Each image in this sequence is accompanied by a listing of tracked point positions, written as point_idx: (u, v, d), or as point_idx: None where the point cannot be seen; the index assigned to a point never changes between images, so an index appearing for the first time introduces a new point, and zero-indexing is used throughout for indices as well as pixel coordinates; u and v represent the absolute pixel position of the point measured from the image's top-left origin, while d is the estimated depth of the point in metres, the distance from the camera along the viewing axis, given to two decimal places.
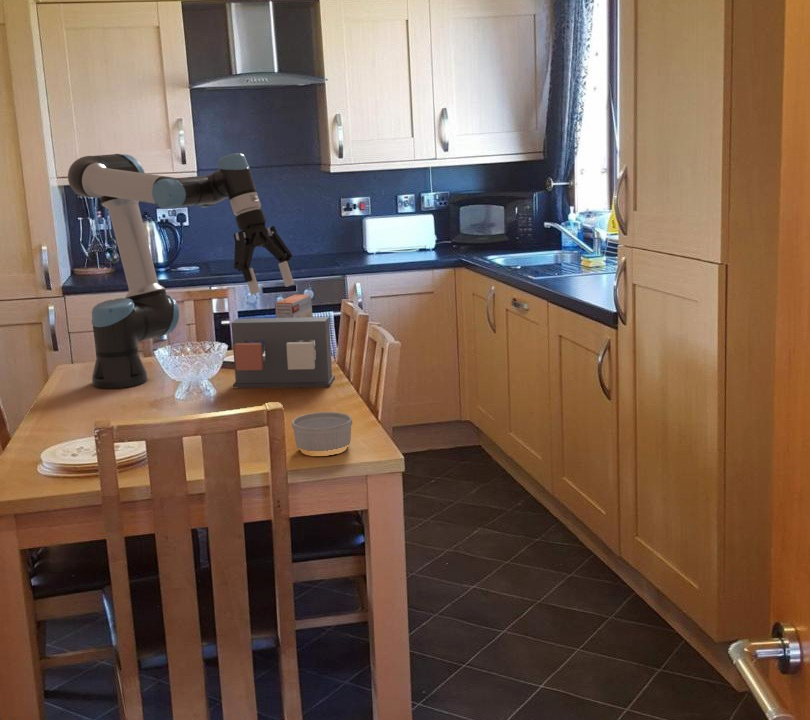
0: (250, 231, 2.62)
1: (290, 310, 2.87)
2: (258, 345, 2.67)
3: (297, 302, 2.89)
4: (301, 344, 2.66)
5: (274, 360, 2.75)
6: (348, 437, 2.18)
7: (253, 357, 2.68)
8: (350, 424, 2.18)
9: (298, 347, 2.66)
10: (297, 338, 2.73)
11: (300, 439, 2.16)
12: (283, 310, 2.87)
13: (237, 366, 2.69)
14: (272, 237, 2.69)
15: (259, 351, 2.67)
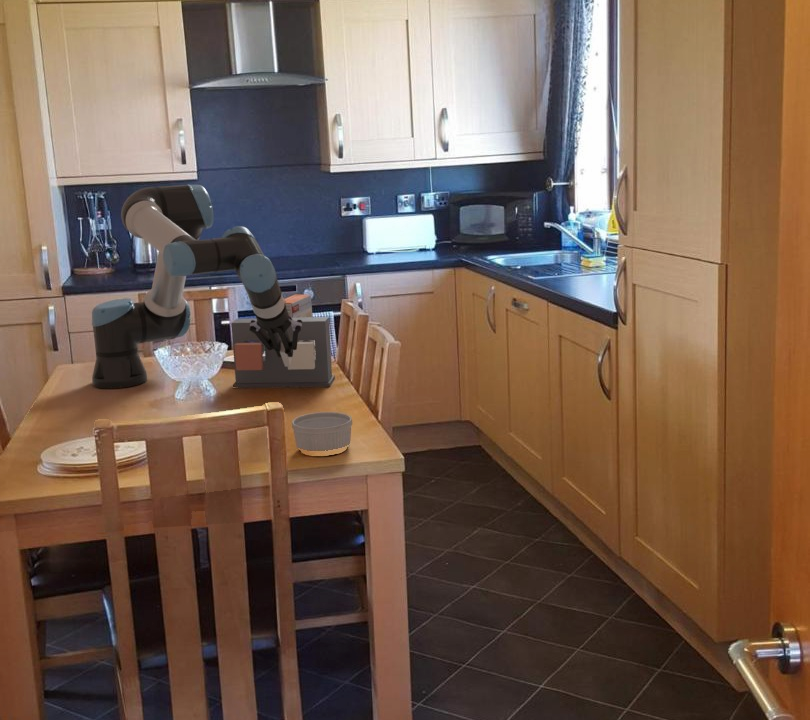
0: None
1: (290, 310, 2.87)
2: (258, 345, 2.67)
3: (297, 302, 2.89)
4: (301, 344, 2.66)
5: (274, 360, 2.75)
6: (348, 437, 2.18)
7: (253, 357, 2.68)
8: (350, 424, 2.18)
9: (298, 347, 2.66)
10: None
11: (300, 439, 2.16)
12: None
13: (237, 366, 2.69)
14: (260, 329, 2.43)
15: (259, 351, 2.67)
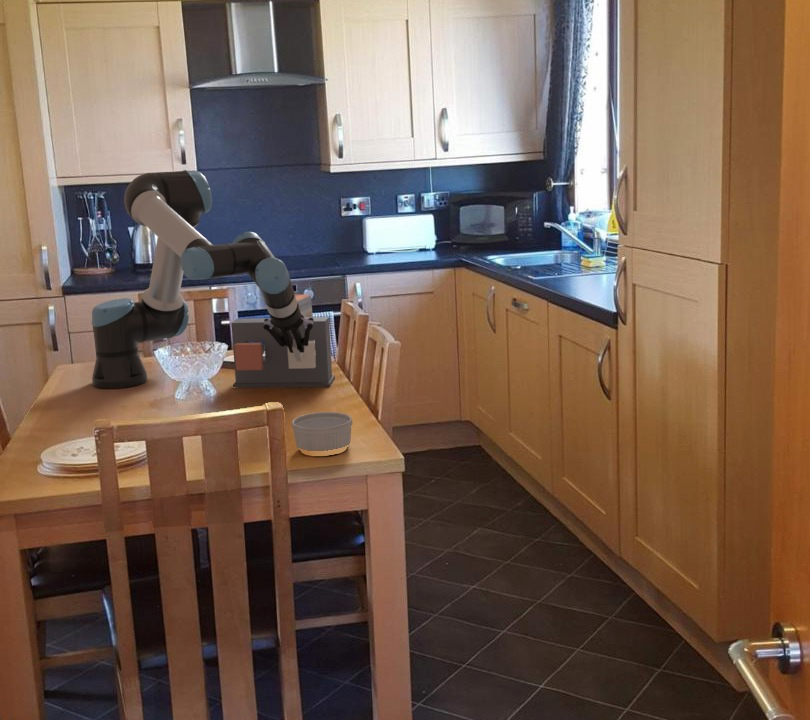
0: None
1: None
2: (258, 345, 2.67)
3: (297, 302, 2.89)
4: None
5: (274, 360, 2.75)
6: (348, 437, 2.18)
7: (253, 357, 2.68)
8: (350, 424, 2.18)
9: None
10: None
11: (300, 439, 2.16)
12: None
13: (237, 366, 2.69)
14: (273, 327, 2.55)
15: (259, 351, 2.67)
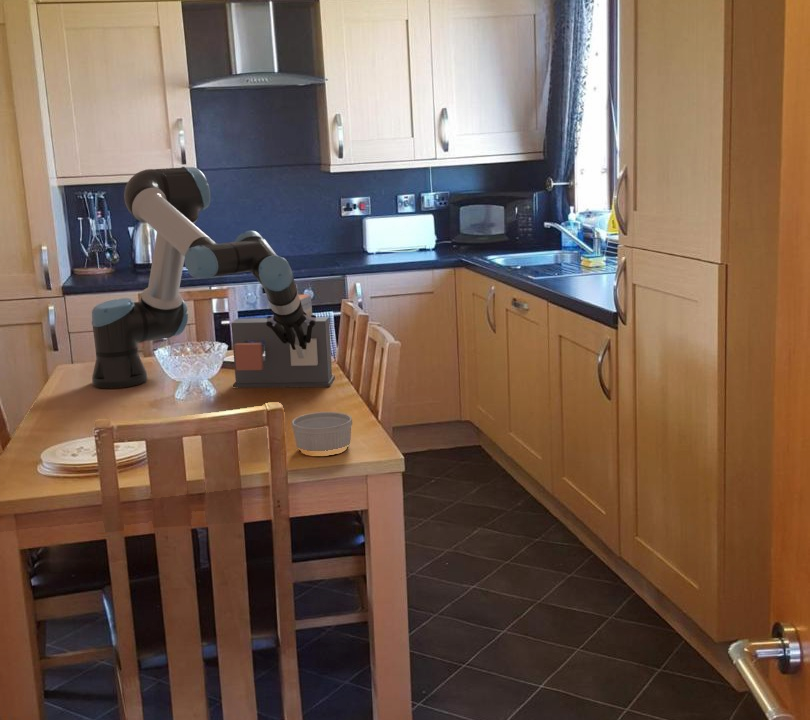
0: None
1: None
2: (258, 345, 2.67)
3: None
4: None
5: (274, 360, 2.75)
6: (348, 437, 2.18)
7: (253, 357, 2.68)
8: (350, 424, 2.18)
9: None
10: None
11: (300, 439, 2.16)
12: None
13: (237, 366, 2.69)
14: (276, 324, 2.58)
15: (259, 351, 2.67)
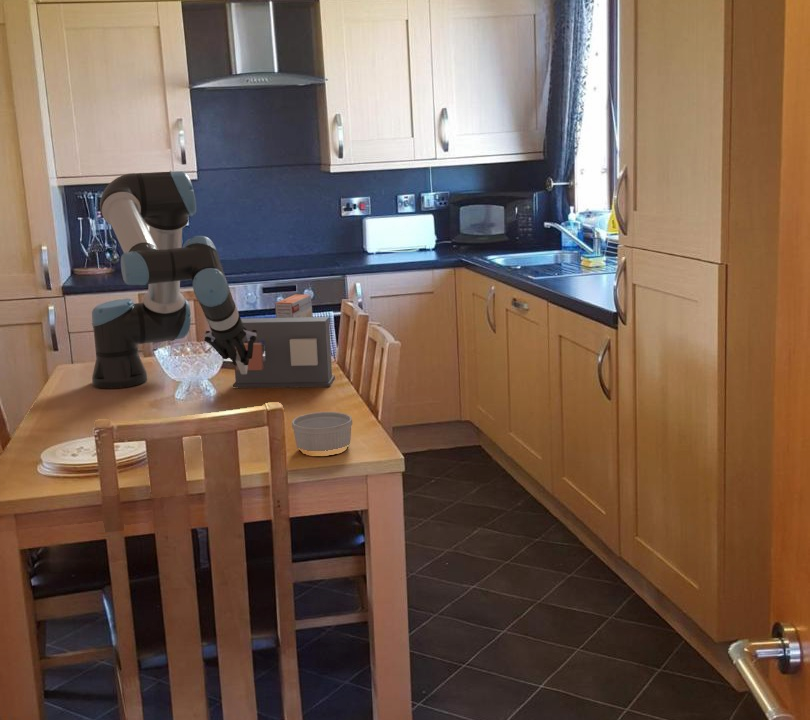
0: None
1: (290, 310, 2.87)
2: (258, 345, 2.67)
3: (297, 302, 2.89)
4: (304, 341, 2.70)
5: (274, 360, 2.75)
6: (348, 437, 2.18)
7: (253, 357, 2.68)
8: (350, 424, 2.18)
9: (301, 343, 2.70)
10: (297, 338, 2.73)
11: (300, 439, 2.16)
12: (283, 310, 2.87)
13: (237, 366, 2.69)
14: (215, 339, 2.44)
15: (259, 351, 2.67)
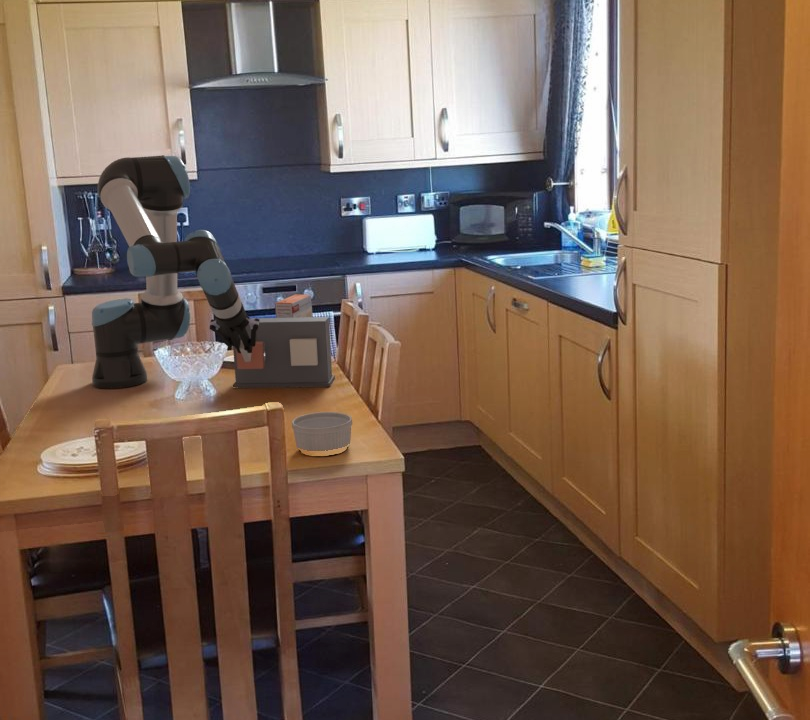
0: None
1: (290, 310, 2.87)
2: (259, 344, 2.68)
3: (297, 302, 2.89)
4: (304, 341, 2.70)
5: (274, 360, 2.75)
6: (348, 436, 2.18)
7: (254, 356, 2.69)
8: (350, 424, 2.18)
9: (301, 343, 2.70)
10: (297, 338, 2.73)
11: (300, 439, 2.16)
12: (283, 310, 2.87)
13: (238, 365, 2.70)
14: (220, 327, 2.56)
15: (260, 350, 2.69)
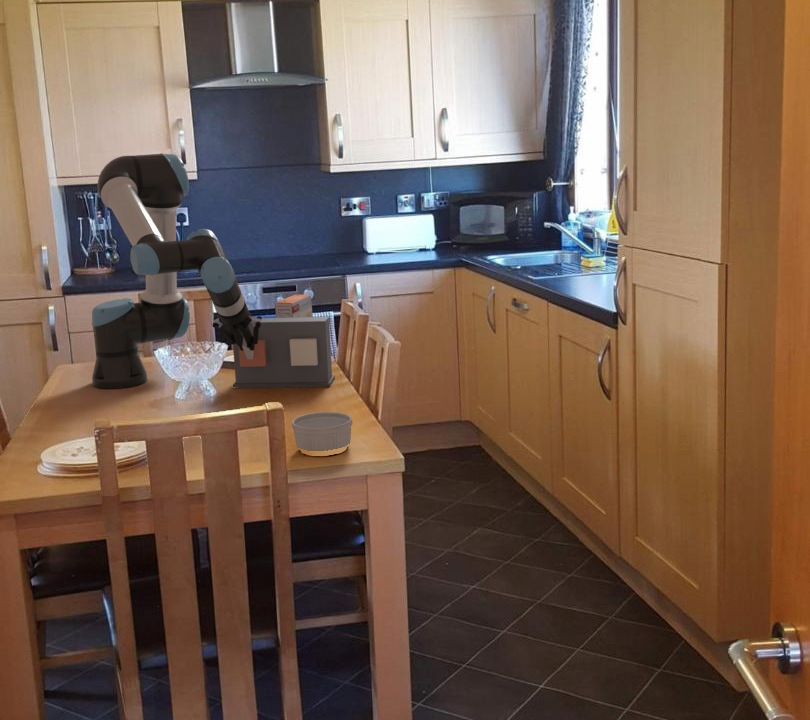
0: None
1: (290, 310, 2.87)
2: (261, 342, 2.71)
3: (297, 302, 2.89)
4: (304, 341, 2.70)
5: (274, 360, 2.75)
6: (348, 436, 2.18)
7: (256, 354, 2.72)
8: (350, 424, 2.18)
9: (301, 343, 2.70)
10: (297, 338, 2.73)
11: (300, 439, 2.16)
12: (283, 310, 2.87)
13: (241, 362, 2.73)
14: (222, 325, 2.59)
15: (262, 348, 2.71)
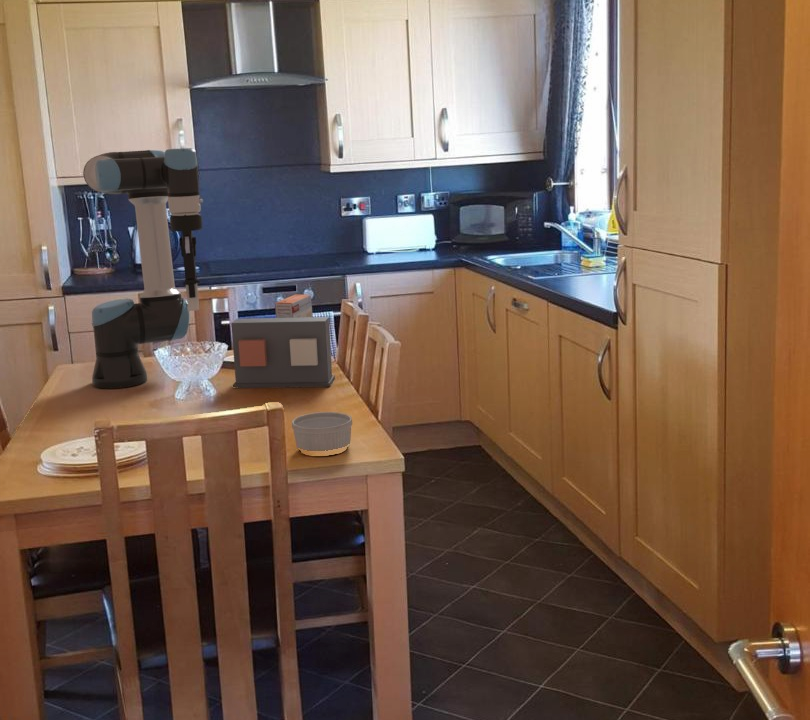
0: (191, 236, 2.40)
1: (290, 310, 2.87)
2: (262, 342, 2.71)
3: (297, 302, 2.89)
4: (304, 341, 2.70)
5: (274, 360, 2.75)
6: (348, 437, 2.18)
7: (257, 354, 2.72)
8: (350, 424, 2.18)
9: (301, 343, 2.70)
10: (297, 338, 2.73)
11: (300, 439, 2.16)
12: (283, 310, 2.87)
13: (241, 362, 2.73)
14: None
15: (263, 347, 2.72)
